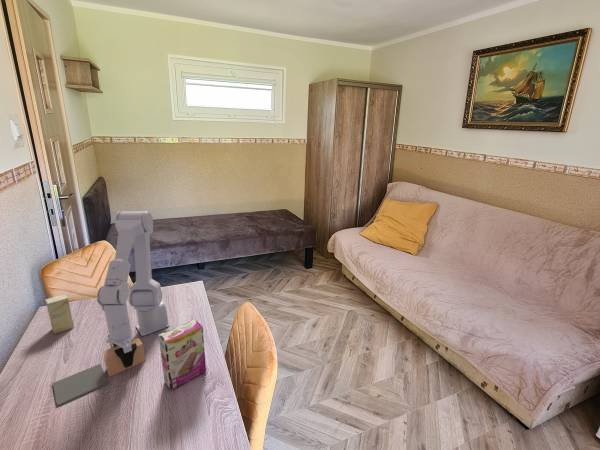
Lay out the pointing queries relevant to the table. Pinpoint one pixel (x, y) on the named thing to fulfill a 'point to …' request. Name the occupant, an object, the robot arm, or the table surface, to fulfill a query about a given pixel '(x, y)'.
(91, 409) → the table surface
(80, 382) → the mat
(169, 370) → the candy bar box
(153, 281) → the robot arm
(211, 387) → the table surface
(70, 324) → the skincare box
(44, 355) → the table surface
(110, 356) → the block
